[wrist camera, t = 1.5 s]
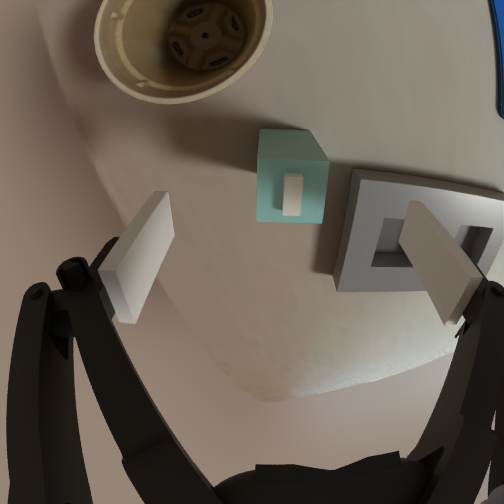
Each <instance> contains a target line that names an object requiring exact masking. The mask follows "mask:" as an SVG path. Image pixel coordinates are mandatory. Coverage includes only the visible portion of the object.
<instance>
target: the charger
mask: <svg viewBox="0 0 504 504" xmlns="http://www.w3.org/2000/svg"><path fill="white" fill-rule="evenodd" d="M329 165H330V161H329V160H328V158H327V156H326V155H325V153H324V152H323V150H322V148H321V147H320V145H319V144H318V142H317V141H316V139H315V138H314V136H313V135H312V133H311V132H310V131H307V130H290V129H260V134H259V144H258V155H257V222H291V223H318V224H322V220H323V213H324V206H325V198H326V191H327V182H328V174H329Z"/></svg>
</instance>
